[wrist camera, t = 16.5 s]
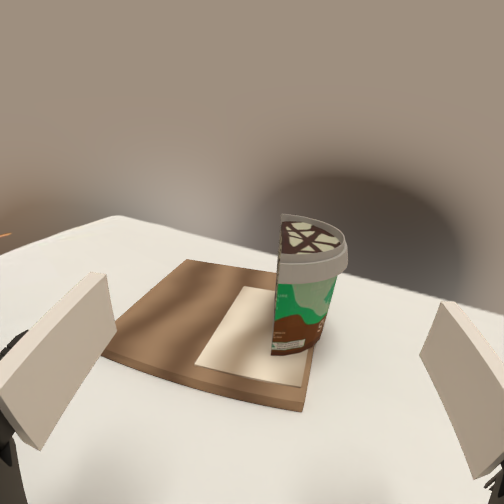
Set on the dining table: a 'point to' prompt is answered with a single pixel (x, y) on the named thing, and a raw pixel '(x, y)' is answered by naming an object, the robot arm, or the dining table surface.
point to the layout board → (212, 336)
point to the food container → (304, 281)
